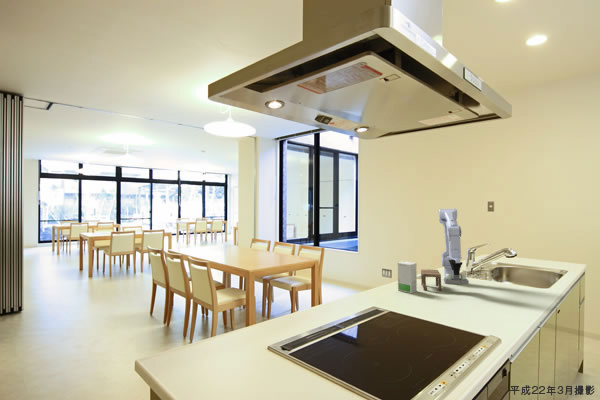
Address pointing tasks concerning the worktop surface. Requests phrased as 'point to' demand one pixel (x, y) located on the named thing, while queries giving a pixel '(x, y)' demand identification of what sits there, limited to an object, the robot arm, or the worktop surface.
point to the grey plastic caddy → (456, 279)
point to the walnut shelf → (430, 274)
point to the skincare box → (407, 277)
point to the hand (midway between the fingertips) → (455, 274)
